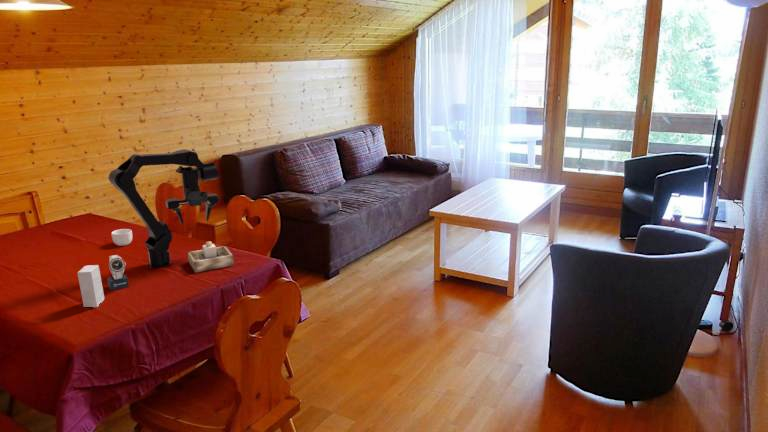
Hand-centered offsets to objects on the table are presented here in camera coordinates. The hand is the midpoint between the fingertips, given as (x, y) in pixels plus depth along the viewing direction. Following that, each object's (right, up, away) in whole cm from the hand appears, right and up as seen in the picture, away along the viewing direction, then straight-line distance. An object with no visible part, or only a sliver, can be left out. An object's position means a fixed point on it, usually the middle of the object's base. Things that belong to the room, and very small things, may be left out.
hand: (195, 222), depth 217 cm
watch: (-17, -22, -26) cm, 38 cm away
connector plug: (+8, -14, -7) cm, 18 cm away
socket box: (+8, -15, -6) cm, 18 cm away
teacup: (-36, -9, +18) cm, 41 cm away
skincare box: (-19, -25, -39) cm, 50 cm away
